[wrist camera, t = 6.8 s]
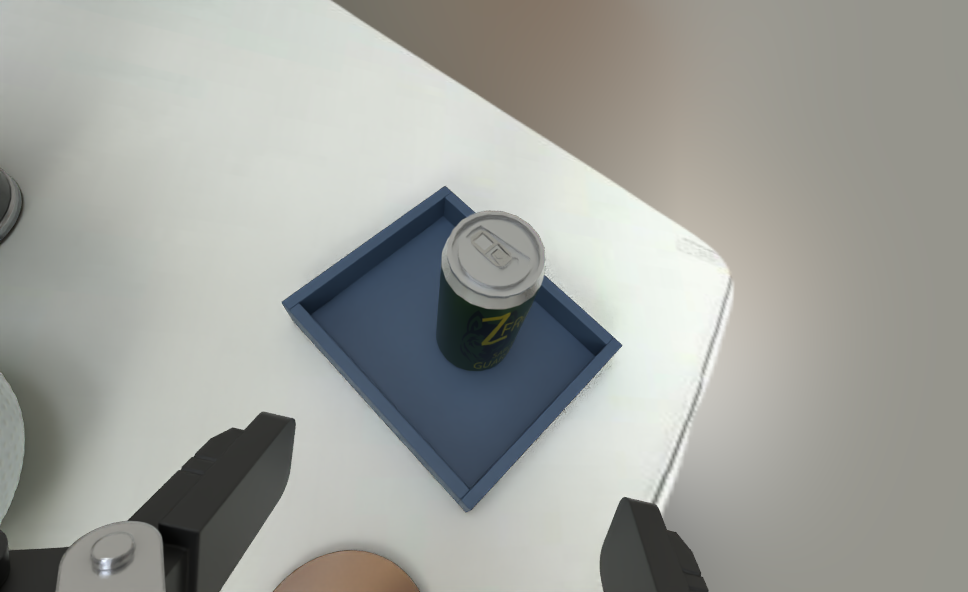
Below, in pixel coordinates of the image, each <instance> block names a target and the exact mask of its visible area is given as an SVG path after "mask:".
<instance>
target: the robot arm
mask: <svg viewBox="0 0 968 592" xmlns="http://www.w3.org/2000/svg"><path fill="white" fill-rule="evenodd" d="M21 204H22V198H21V192H20V189H19V187H18V185H17V183H16V182H15V181H14V179H13V178H12V177H11V176H10V175H8V174H7V173H6V172H5V171H4V170H3V169H1V168H0V241H1V240H2V239H3V238H4V237H5V236H6V235H7V233H8V232H9V231H10V230H11V228H12V227H13V225H14V224H15V222H16V220H17V218H18V216H19V213H20V210H21ZM295 426H296V423H295V419H293V418H289V417H284V416H280V415H276V414H272V413H267V412H261V413H260V414H259V415H258V416H257V417H256V418H255V419H254V420H253V421H252V422H251V423H250V424H249V426H248V427H247V428H246V429H245V430H241V429H236V428H231V429H229V430H227V431H225V432H223V433H221V434H219V435H217V436H215V437H213V438H211V439H210V440H209V441H208V442H207V443H206V444H205V445H204V446H203V447H202V448H201V449H200V450H199V451H198V452H197V453H196V454H195V456H194V457H191V458H190V459H189V460H188V461H187V462H186V463H185V464H184V465H183V466H182V469H181V470H178V471H177V472H176V473H175V474H174V475H173V476H172V477H171V478H170V479H169V480H168V481H167V482H166V483H165V484H164V485H163V486H162V487H161V488H160V489H159V490H158V491H157V492H156V493H155V494H154V495H153V496H152V497H151V498H150V499H149V500H148V501H147V502H146V503H145V504H144V505H143V506H142V507H141V508H140V509H139V510H138V511H137V512H136V513H135V514H134V515H133V516H132V517H131V518H130V519H129V520H128V521H122V522H116V523H112V524H108V525H105V526H102V527H100V528H97V529H95V530H93V531H91V532H89V533H87V534H85V535H84V536H82V537H81V538H79V539H78V540H77V541H75V542H74V543H73V544H72V545H71V546H70V547H63V548H47V549H27V550H8V541H7V537H6V535H5V533H3V532H2V531H1V530H0V592H219V591H220V590H221V588H222V587H223V585H224V584H225V582H226V581H227V579H228V578H229V576H230V575H231V573H232V571H233V570H234V568H235V567H236V565H237V564H238V562H239V561H240V559H241V558H242V556H243V555H244V553H245V552H246V550H247V548H248V547H249V545H250V544H251V542H252V541H253V539H254V538H255V536H256V535H257V533H258V532H259V530H260V529H261V527H262V526H263V524H264V522H265V521H266V519H267V518H268V516H269V515H270V513H271V512H272V510H273V509H274V507H275V506H276V504H277V503H278V501H279V499H280V498H281V496H282V494H283V492H284V490H285V487H286V485H287V482H288V478H289V474H290V468H291V460H292V452H293V444H294V435H295ZM600 576H601V581H602V586H603V591H604V592H708V588H707V586H706V583H705V581H704V579H703V577H701V572H700V569H699V567H698V564H697V562H696V560H695V558H694V555H693V553H692V551H691V550H690V549H689V548H688V546H687V545H686V544H685V543H684V542H683V540H682V539H681V538H680V536H679V535H678V534H677V533H676V532H672V531H669V530H667V529H666V526H665V524H664V521H663V518H662V516H661V513H660V511H659V508H658V507H657V505H655V504H652V503H648V502H644V501H639V500H635V499H631V498H626V497H624V498H622V499H621V501H620V503H619V505H618V507H617V510H616V512H615V515H614V517H613V520H612V523H611V525H610V528H609V530H608V533H607V535H606V538H605V540H604V543H603V546H602V549H601V555H600Z"/></svg>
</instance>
